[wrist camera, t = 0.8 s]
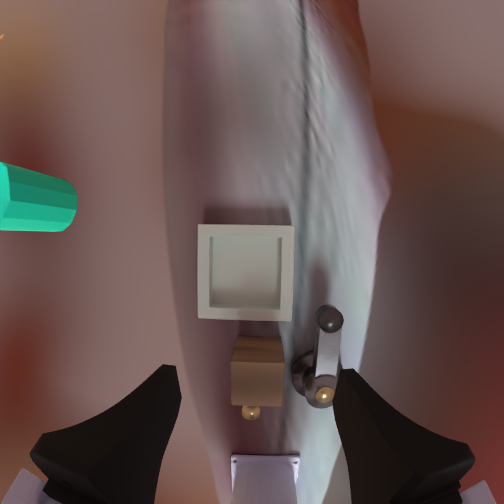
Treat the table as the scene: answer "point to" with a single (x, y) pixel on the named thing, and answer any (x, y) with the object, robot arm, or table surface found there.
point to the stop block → (257, 371)
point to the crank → (324, 358)
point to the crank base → (296, 376)
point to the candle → (34, 200)
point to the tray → (245, 272)
